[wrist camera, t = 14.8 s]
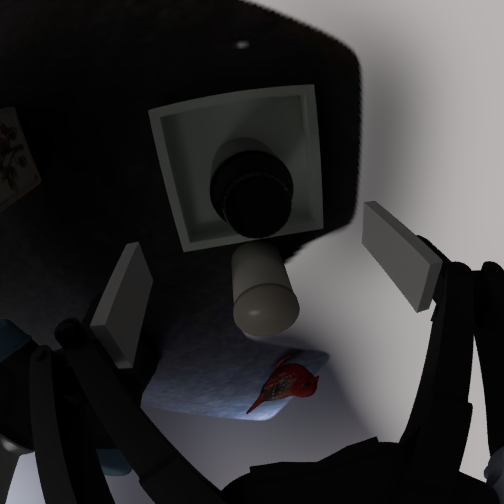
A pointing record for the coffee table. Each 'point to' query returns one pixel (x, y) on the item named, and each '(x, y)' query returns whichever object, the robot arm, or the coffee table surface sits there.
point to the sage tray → (228, 128)
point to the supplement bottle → (251, 188)
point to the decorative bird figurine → (287, 383)
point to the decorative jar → (14, 160)
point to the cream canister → (262, 290)
